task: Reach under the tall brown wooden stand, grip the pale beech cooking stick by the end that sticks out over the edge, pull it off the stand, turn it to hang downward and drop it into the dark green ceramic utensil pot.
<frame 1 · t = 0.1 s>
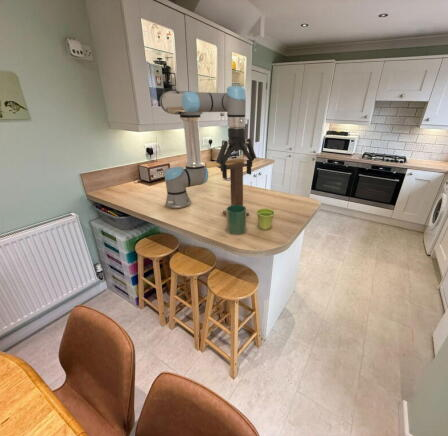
hand: (237, 176, 109), 28 cm above the table, tool pointing down, fingers open, 13 cm apart
cooking stick: (225, 164, 121), point 30 cm above the table, touching brown wooden stand
utensil pot: (236, 229, 120), on the table
plant pot: (264, 227, 123), on the table
brown wooden stand: (232, 215, 136), on the table
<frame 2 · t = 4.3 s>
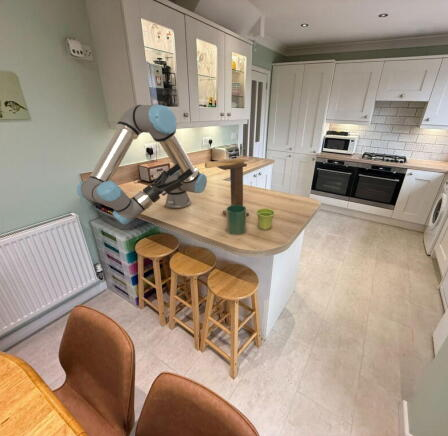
hand: (184, 168, 109), 31 cm above the table, tool pointing upward, fingers open, 13 cm apart
nothing on the table moved.
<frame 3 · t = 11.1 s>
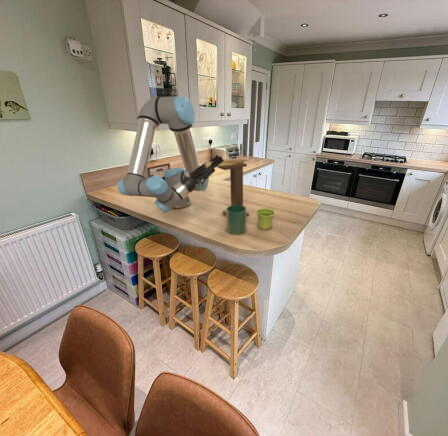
hand: (220, 157, 117), 34 cm above the table, tool pointing upward, fingers closed on cooking stick, 2 cm apart
cooking stick: (225, 164, 121), point 30 cm above the table, touching gripper, brown wooden stand
everything else where it was.
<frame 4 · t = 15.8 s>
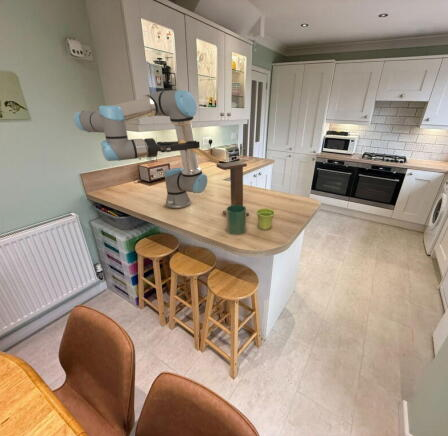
hand: (197, 144, 108), 42 cm above the table, tool horizontal, fingers closed on cooking stick, 2 cm apart
cooking stick: (199, 154, 111), point 37 cm above the table, tilted 31°, touching gripper
everything else where it was.
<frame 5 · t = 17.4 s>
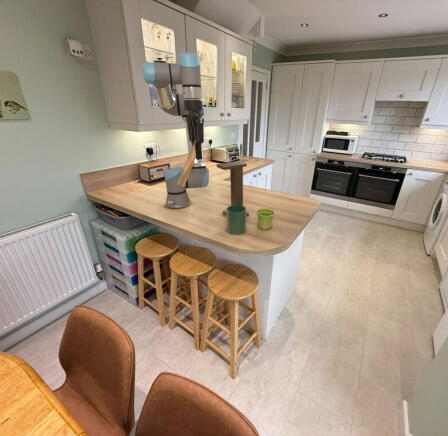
hand: (197, 158, 104), 36 cm above the table, tool pointing down, fingers closed on cooking stick, 2 cm apart
cooking stick: (187, 161, 102), point 36 cm above the table, tilted 120°, touching gripper
everything else where it was.
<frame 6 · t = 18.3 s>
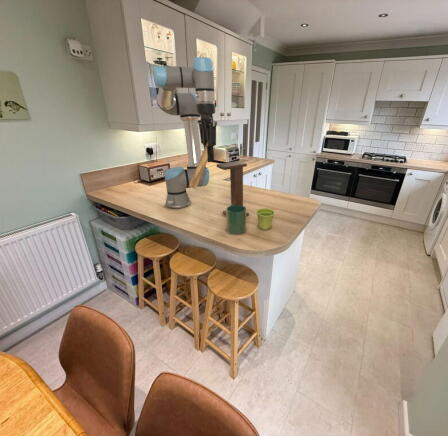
hand: (209, 160, 105), 35 cm above the table, tool pointing down, fingers closed on cooking stick, 2 cm apart
cooking stick: (199, 163, 103), point 34 cm above the table, tilted 120°, touching gripper
everything else where it was.
when the fingers open (14 cm above the table, at t = 25.8 s): cooking stick drops 2 cm, resting on utensil pot.
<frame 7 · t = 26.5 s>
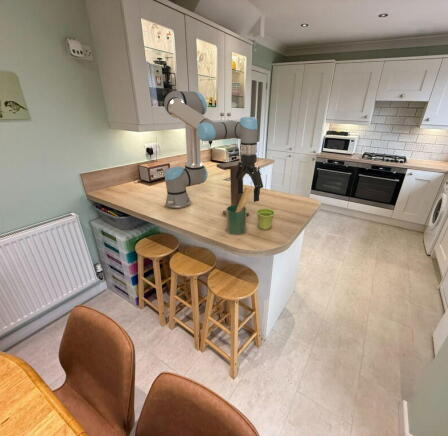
hand: (248, 197, 116), 16 cm above the table, tool pointing down, fingers open, 13 cm apart
cooking stick: (238, 208, 115), point 12 cm above the table, tilted 117°, touching utensil pot
everything else where it was.
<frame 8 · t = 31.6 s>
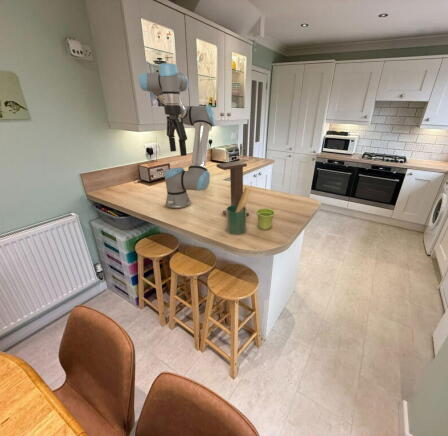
hand: (178, 153, 113), 37 cm above the table, tool pointing down, fingers open, 13 cm apart
nothing on the table moved.
at the end: cooking stick inside the target area in the utensil pot (1.3 cm from its centre), point 11.9 cm above the utensil pot's base; the gripper is holding nothing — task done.
